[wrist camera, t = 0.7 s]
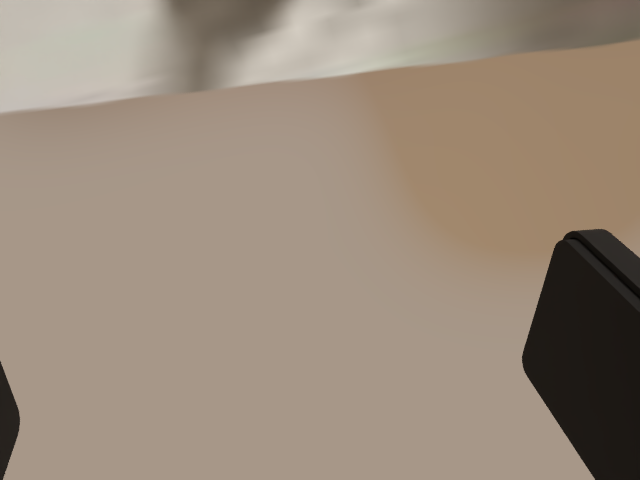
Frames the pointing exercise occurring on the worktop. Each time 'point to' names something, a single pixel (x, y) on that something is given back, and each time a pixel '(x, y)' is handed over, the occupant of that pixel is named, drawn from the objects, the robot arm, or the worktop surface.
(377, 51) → the worktop surface
